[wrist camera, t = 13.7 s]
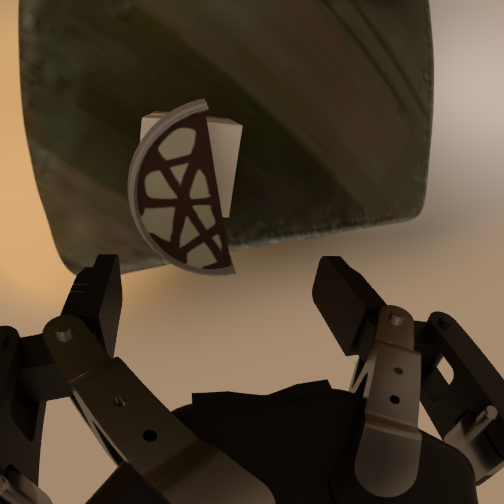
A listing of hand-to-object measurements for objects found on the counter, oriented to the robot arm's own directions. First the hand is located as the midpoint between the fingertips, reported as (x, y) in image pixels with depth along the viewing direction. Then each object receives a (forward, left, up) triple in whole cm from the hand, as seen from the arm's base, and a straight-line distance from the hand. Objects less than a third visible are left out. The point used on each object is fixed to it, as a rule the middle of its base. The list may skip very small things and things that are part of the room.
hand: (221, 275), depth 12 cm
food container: (+2, 0, -18) cm, 18 cm away
